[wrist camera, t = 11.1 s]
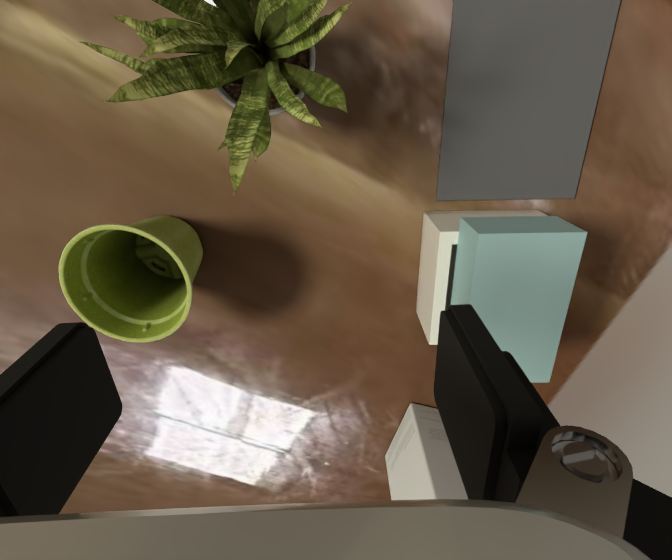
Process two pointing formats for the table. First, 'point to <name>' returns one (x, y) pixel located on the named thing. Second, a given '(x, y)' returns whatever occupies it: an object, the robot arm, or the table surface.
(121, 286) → the plant pot
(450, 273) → the white open-top box
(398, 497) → the supplement box
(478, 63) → the mat
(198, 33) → the house plant
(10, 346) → the table surface
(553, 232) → the teal rectangular block
